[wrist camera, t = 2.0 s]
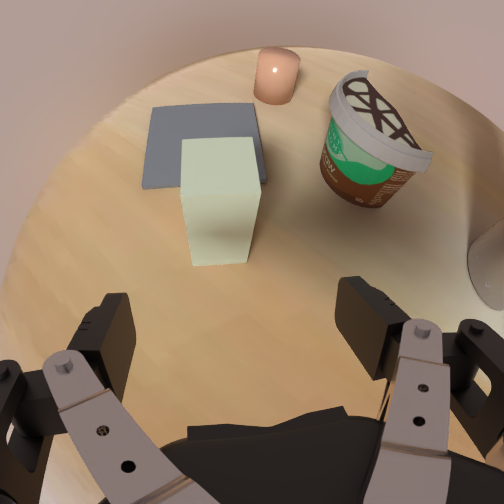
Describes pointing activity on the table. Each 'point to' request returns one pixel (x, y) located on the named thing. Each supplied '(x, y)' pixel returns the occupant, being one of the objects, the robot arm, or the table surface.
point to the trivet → (193, 137)
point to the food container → (367, 145)
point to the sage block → (219, 198)
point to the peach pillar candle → (276, 75)
